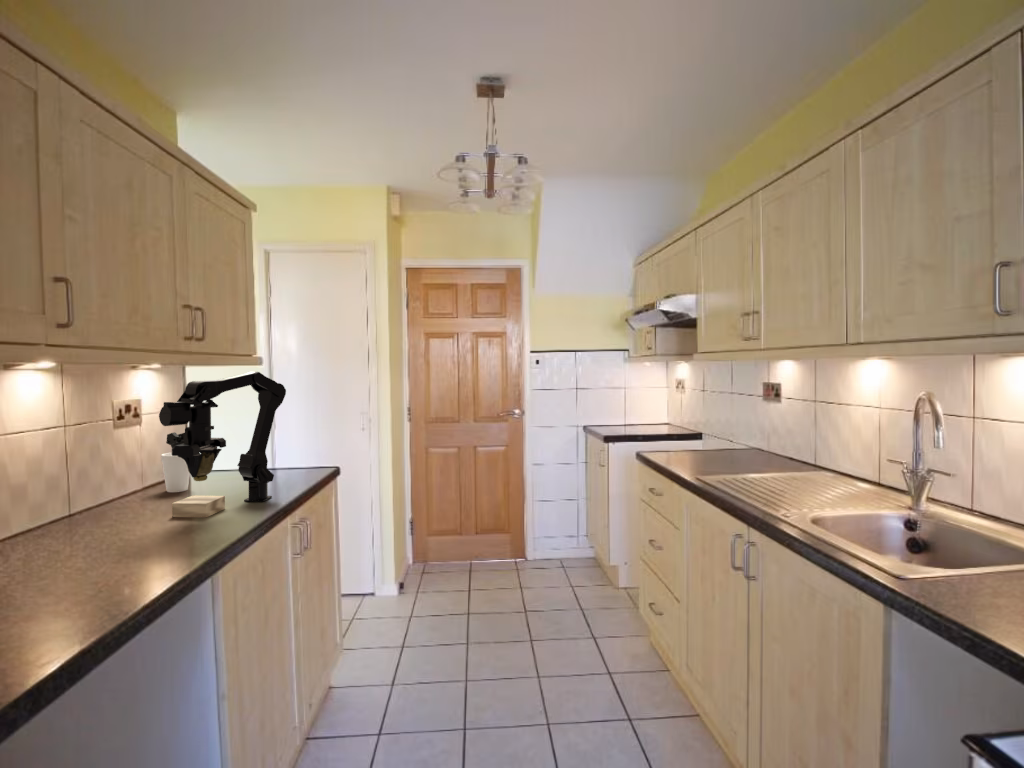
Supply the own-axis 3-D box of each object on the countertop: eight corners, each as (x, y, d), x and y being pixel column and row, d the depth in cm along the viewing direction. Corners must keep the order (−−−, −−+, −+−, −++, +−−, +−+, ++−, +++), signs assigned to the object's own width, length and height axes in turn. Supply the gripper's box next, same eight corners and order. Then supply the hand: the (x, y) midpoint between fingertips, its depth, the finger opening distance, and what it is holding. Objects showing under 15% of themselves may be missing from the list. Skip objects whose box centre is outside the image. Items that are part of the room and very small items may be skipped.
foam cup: (198, 488, 196) (198, 452, 196) (176, 494, 187) (176, 456, 187) (177, 486, 199) (177, 451, 198) (155, 492, 190) (154, 455, 189)
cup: (192, 484, 158) (192, 456, 157) (181, 480, 162) (181, 454, 162) (219, 480, 164) (219, 453, 163) (207, 477, 168) (207, 451, 168)
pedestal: (193, 508, 169) (192, 495, 168) (224, 508, 168) (224, 495, 168) (172, 516, 159) (172, 503, 158) (205, 517, 158) (205, 503, 158)
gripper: (191, 419, 172) (192, 469, 172) (152, 426, 153) (153, 481, 153) (226, 420, 172) (227, 469, 172) (192, 426, 153) (192, 481, 153)
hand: (200, 475), depth 163 cm, fingers closed on cup, 6 cm apart
